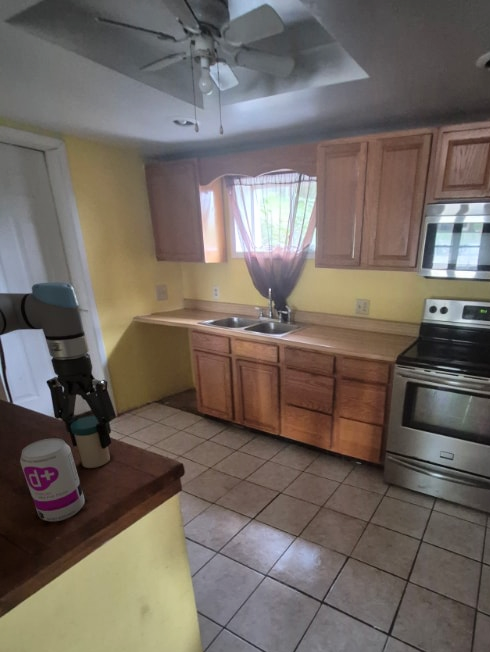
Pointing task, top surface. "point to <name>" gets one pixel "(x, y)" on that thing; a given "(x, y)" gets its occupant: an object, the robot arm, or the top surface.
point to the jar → (91, 451)
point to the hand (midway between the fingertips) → (92, 444)
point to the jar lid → (84, 426)
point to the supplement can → (52, 479)
